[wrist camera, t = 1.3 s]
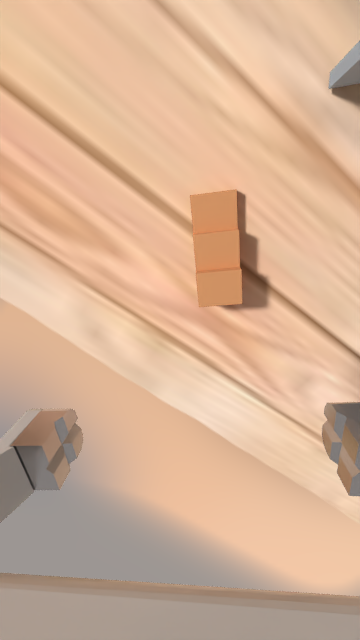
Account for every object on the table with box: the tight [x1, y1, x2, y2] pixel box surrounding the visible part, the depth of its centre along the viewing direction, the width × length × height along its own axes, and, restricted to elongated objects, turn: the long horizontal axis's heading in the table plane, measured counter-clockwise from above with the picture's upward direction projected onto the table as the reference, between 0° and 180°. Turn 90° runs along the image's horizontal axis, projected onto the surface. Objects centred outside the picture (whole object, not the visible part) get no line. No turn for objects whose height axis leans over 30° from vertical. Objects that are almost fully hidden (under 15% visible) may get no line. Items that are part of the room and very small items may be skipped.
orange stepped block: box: [190, 189, 242, 307], centre depth 29 cm, size 12×5×4 cm, turn 7°
